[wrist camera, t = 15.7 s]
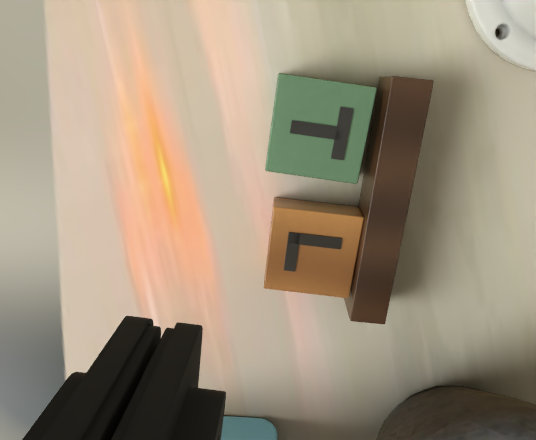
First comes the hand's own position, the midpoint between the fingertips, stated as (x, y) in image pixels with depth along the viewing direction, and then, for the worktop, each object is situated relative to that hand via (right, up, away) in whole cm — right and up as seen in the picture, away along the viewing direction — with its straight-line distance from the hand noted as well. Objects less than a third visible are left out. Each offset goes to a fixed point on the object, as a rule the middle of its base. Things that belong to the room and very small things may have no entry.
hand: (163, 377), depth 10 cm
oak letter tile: (+5, +2, +22) cm, 23 cm away
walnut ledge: (+10, +5, +21) cm, 24 cm away
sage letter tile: (+6, +10, +20) cm, 23 cm away
